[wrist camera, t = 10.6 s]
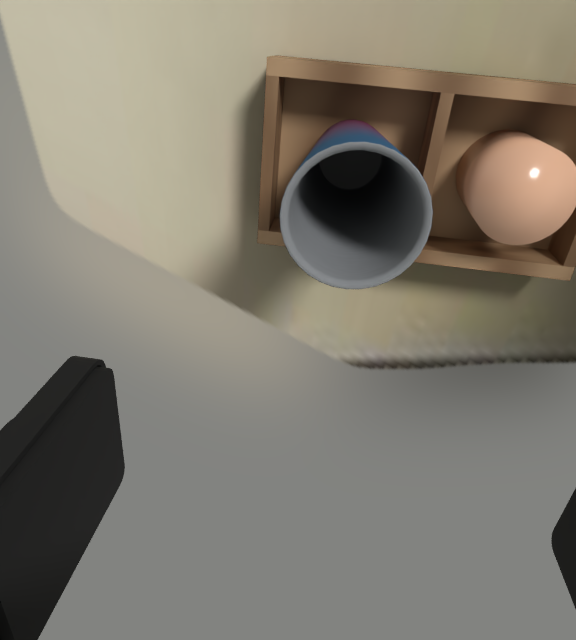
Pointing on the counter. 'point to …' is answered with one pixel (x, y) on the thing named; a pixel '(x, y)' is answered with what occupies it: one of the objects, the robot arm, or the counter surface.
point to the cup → (355, 209)
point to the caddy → (419, 145)
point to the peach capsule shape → (516, 186)
